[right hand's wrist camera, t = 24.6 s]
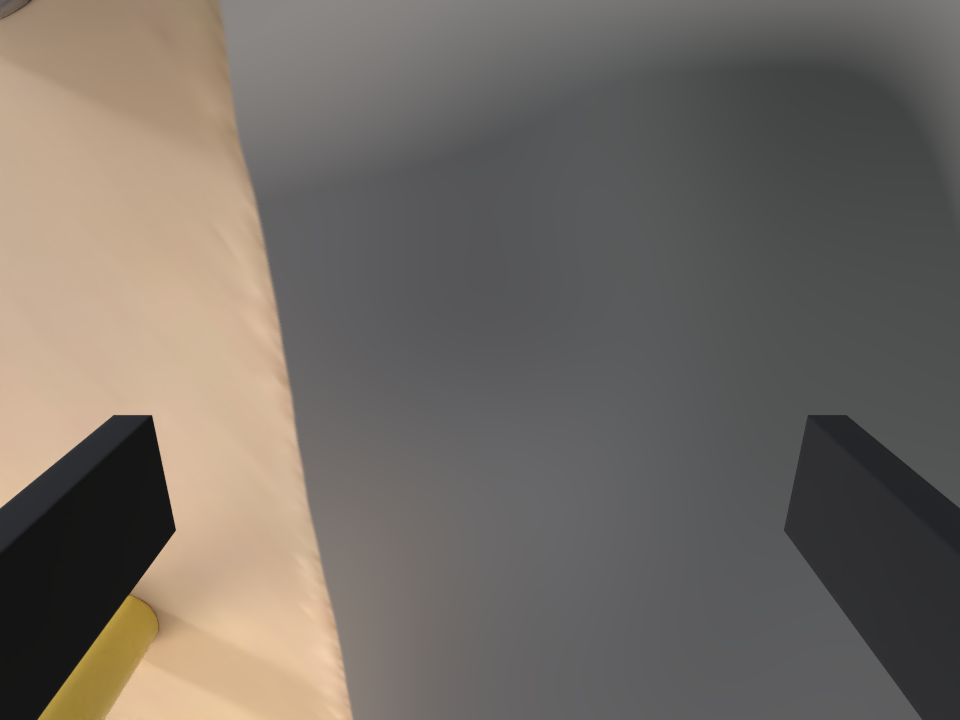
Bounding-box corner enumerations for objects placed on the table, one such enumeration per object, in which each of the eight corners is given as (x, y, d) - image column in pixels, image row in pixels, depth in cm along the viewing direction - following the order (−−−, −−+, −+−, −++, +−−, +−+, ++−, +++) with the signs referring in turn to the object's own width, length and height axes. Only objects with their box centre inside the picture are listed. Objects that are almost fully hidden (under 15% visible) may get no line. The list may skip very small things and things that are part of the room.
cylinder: (97, 650, 55) (-9, 797, 44) (76, 594, 53) (-41, 733, 41) (166, 646, 55) (79, 794, 43) (148, 590, 53) (52, 729, 41)
